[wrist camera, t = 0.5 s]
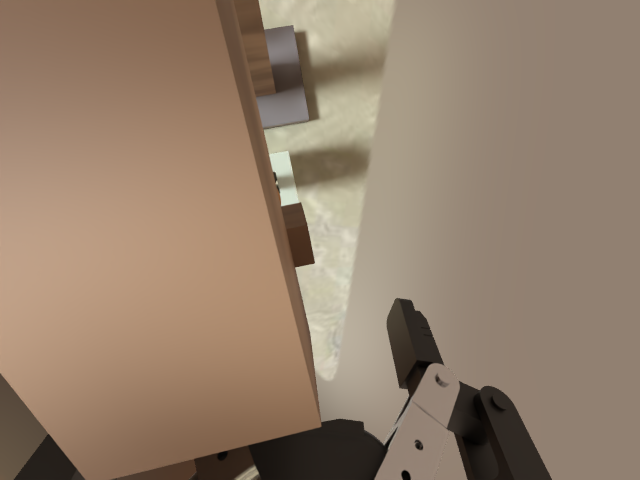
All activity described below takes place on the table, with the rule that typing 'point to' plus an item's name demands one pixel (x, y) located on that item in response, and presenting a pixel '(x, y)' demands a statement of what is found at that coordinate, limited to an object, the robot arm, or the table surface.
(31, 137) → the hanging stand
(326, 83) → the table surface
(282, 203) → the sleeve
